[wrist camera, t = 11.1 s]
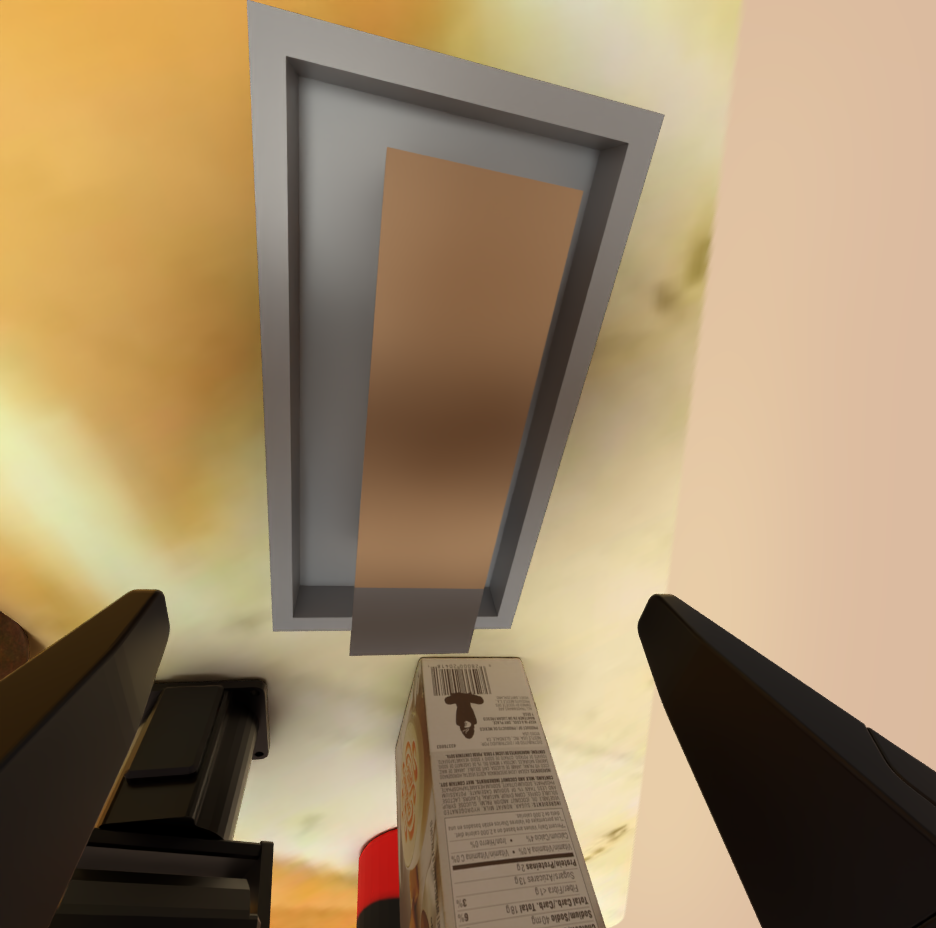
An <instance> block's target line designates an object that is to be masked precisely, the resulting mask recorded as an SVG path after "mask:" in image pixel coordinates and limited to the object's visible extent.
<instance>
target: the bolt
mask: <svg viewBox="0 0 936 928" xmlns="http://www.w3.org/2000/svg"><path fill="white" fill-rule="evenodd" d="M28 659H29V642H28V637H27V636H26V634H25V632H24V631H23V629H22V628H21V627H20V626H19V624H18V623H16V622H15V621H13V620H12V619H11V618H9V617H8V616H6V615H5V614H4V613H2V612H1V611H0V680H2V679H3V678H5V677H6V676H8V675H9V674H11V673H12V672H13V671H15V670H16V669H18V668H19V667H21V666H22V665H24V664H25V663H26V662H28Z"/></svg>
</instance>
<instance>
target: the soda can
mask: <svg viewBox="0 0 936 928" xmlns="http://www.w3.org/2000/svg"><path fill="white" fill-rule="evenodd" d="M357 928H400V897H399V866H398V830H397V829H394V830H390V831H388V832H386V833H383V834H381V835H379V836H378V837H376V838H374V839H373V840H372V841H371V842H369V844H368V845H367V846H366V847H365V849H364V850H363V852H362V853H361V855H360V858H359V872H358V901H357Z"/></svg>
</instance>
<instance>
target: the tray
mask: <svg viewBox="0 0 936 928" xmlns="http://www.w3.org/2000/svg"><path fill="white" fill-rule="evenodd" d="M247 13H248V37H249V62H250V86H251V110H252V134H253V159H254V183H255V207H256V231H257V255H258V280H259V304H260V328H261V352H262V377H263V401H264V425H265V449H266V474H267V498H268V522H269V546H270V570H271V595H272V619H273V631H350V630H351V628H352V614H353V600H354V586H355V572H356V558H357V544H358V531H359V517H360V503H361V490H362V476H363V462H364V449H365V435H366V422H367V408H368V394H369V381H370V367H371V353H372V340H373V326H374V313H375V299H376V285H377V272H378V258H379V244H380V231H381V217H382V204H383V190H384V176H385V164H386V152H387V147H390V148H395V149H399V150H403V151H408V152H412V153H417V154H421V155H426V156H430V157H435V158H439V159H444V160H448V161H452V162H457V163H461V164H466V165H470V166H475V167H479V168H484V169H488V170H493V171H497V172H501V173H506V174H510V175H515V176H519V177H524V178H528V179H533V180H537V181H541V182H546V183H550V184H555V185H559V186H564V187H568V188H573V189H577V190H582V191H583V195H582V199H581V203H580V207H579V211H578V215H577V219H576V223H575V227H574V231H573V235H572V239H571V243H570V247H569V251H568V255H567V259H566V263H565V267H564V271H563V275H562V279H561V283H560V287H559V291H558V295H557V299H556V303H555V307H554V311H553V315H552V319H551V323H550V327H549V331H548V335H547V339H546V343H545V347H544V351H543V355H542V359H541V363H540V367H539V371H538V375H537V379H536V383H535V387H534V391H533V395H532V399H531V403H530V407H529V411H528V415H527V419H526V423H525V427H524V431H523V435H522V439H521V443H520V447H519V451H518V455H517V459H516V463H515V467H514V471H513V475H512V479H511V483H510V487H509V491H508V495H507V499H506V503H505V507H504V511H503V515H502V519H501V523H500V527H499V531H498V535H497V539H496V543H495V547H494V551H493V555H492V559H491V563H490V567H489V571H488V575H487V579H486V583H485V587H484V591H483V595H482V599H481V603H480V607H479V611H478V615H477V619H476V623H475V627H474V629H510V628H511V625H512V622H513V618H514V615H515V612H516V608H517V605H518V602H519V598H520V595H521V592H522V588H523V585H524V582H525V578H526V575H527V572H528V568H529V565H530V562H531V558H532V555H533V552H534V548H535V545H536V542H537V538H538V535H539V532H540V528H541V525H542V522H543V518H544V515H545V512H546V508H547V505H548V502H549V498H550V495H551V492H552V488H553V485H554V482H555V478H556V475H557V472H558V468H559V465H560V462H561V458H562V455H563V452H564V448H565V445H566V442H567V438H568V435H569V432H570V428H571V425H572V422H573V418H574V415H575V412H576V408H577V405H578V402H579V398H580V395H581V392H582V388H583V385H584V382H585V378H586V375H587V372H588V368H589V365H590V362H591V359H592V355H593V352H594V349H595V345H596V342H597V339H598V335H599V332H600V329H601V325H602V322H603V319H604V315H605V312H606V309H607V305H608V302H609V299H610V295H611V292H612V289H613V285H614V282H615V279H616V275H617V272H618V269H619V265H620V262H621V259H622V255H623V252H624V249H625V245H626V242H627V239H628V235H629V232H630V229H631V225H632V222H633V219H634V215H635V212H636V209H637V205H638V202H639V199H640V195H641V192H642V189H643V185H644V182H645V179H646V175H647V172H648V169H649V165H650V162H651V159H652V155H653V152H654V149H655V145H656V142H657V139H658V135H659V132H660V129H661V125H662V122H663V119H664V115H663V114H660V113H656V112H653V111H649V110H645V109H642V108H638V107H634V106H631V105H627V104H624V103H620V102H616V101H613V100H609V99H605V98H602V97H598V96H595V95H591V94H587V93H584V92H580V91H576V90H573V89H569V88H566V87H562V86H558V85H555V84H551V83H547V82H544V81H540V80H537V79H533V78H529V77H526V76H522V75H518V74H515V73H511V72H508V71H504V70H500V69H497V68H493V67H489V66H486V65H482V64H479V63H475V62H471V61H468V60H464V59H460V58H457V57H453V56H449V55H446V54H442V53H439V52H435V51H431V50H428V49H424V48H420V47H417V46H413V45H410V44H406V43H402V42H399V41H395V40H391V39H388V38H384V37H381V36H377V35H373V34H370V33H366V32H362V31H359V30H355V29H352V28H348V27H344V26H341V25H337V24H333V23H330V22H326V21H323V20H319V19H315V18H312V17H308V16H304V15H301V14H297V13H294V12H290V11H286V10H283V9H279V8H275V7H272V6H268V5H265V4H261V3H257V2H254V1H250V0H247Z"/></svg>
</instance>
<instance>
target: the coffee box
mask: <svg viewBox="0 0 936 928" xmlns="http://www.w3.org/2000/svg"><path fill="white" fill-rule="evenodd" d="M395 761H396V795H397V830H398V866H399V897H400V928H606V927H605V924H604V921H603V917H602V914H601V911H600V908H599V905H598V902H597V898H596V895H595V892H594V889H593V886H592V883H591V879H590V876H589V873H588V870H587V867H586V863H585V860H584V857H583V854H582V851H581V847H580V844H579V841H578V838H577V835H576V832H575V829H574V826H573V822H572V819H571V816H570V813H569V810H568V806H567V803H566V800H565V797H564V794H563V791H562V788H561V784H560V781H559V778H558V775H557V772H556V769H555V765H554V762H553V759H552V756H551V753H550V750H549V746H548V743H547V740H546V737H545V734H544V731H543V728H542V725H541V722H540V718H539V715H538V712H537V708H536V705H535V702H534V699H533V696H532V692H531V689H530V686H529V683H528V680H527V677H526V674H525V670H524V667H523V664H522V661H521V660H520V659H518V658H421V659H420V660H419V663H418V666H417V670H416V673H415V677H414V681H413V684H412V688H411V692H410V696H409V700H408V704H407V707H406V711H405V715H404V719H403V723H402V727H401V731H400V734H399V738H398V742H397V746H396V750H395Z"/></svg>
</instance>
